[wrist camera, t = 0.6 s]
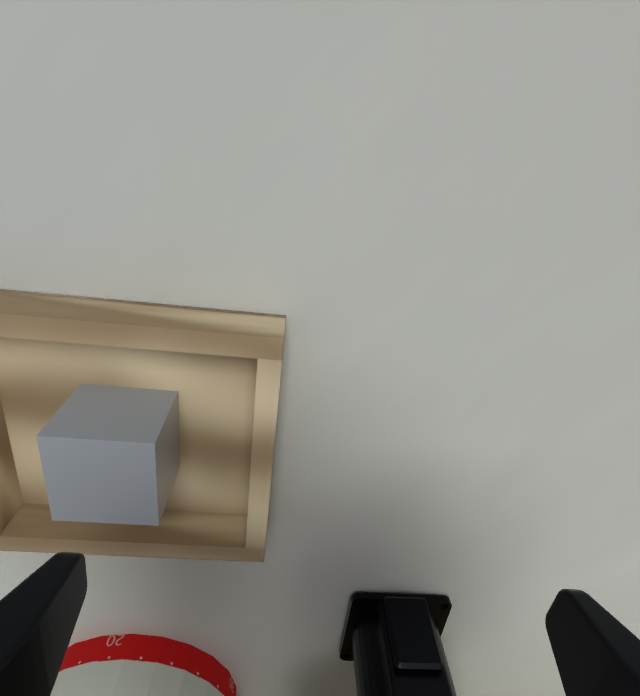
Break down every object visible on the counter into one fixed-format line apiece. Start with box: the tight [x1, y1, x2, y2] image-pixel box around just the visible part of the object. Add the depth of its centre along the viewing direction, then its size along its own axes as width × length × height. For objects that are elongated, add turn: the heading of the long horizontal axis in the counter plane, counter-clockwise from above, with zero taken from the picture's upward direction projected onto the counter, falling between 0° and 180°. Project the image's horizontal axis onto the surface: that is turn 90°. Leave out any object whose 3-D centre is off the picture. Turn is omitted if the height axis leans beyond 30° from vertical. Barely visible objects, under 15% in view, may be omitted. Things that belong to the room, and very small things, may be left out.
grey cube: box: [36, 384, 180, 526], centre depth 21 cm, size 4×4×4 cm
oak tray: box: [0, 289, 286, 562], centre depth 22 cm, size 13×14×2 cm
